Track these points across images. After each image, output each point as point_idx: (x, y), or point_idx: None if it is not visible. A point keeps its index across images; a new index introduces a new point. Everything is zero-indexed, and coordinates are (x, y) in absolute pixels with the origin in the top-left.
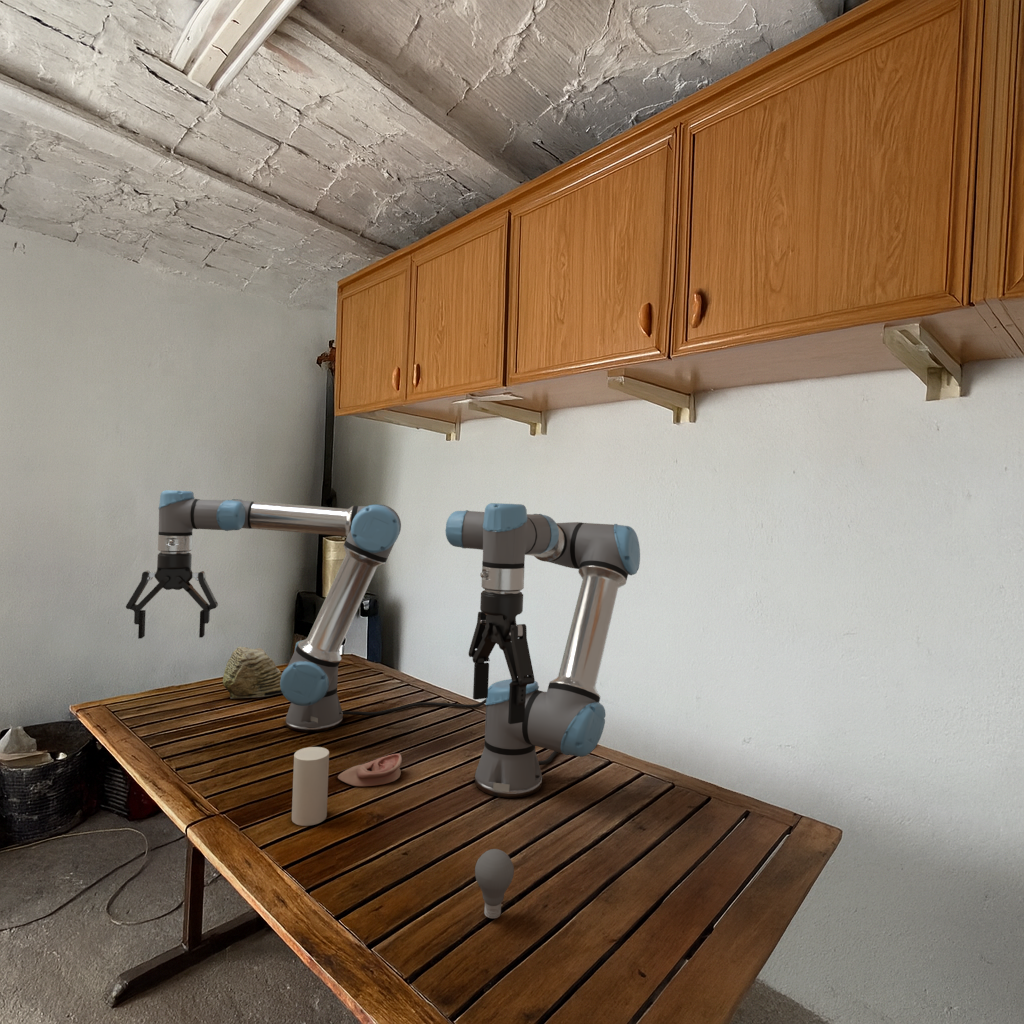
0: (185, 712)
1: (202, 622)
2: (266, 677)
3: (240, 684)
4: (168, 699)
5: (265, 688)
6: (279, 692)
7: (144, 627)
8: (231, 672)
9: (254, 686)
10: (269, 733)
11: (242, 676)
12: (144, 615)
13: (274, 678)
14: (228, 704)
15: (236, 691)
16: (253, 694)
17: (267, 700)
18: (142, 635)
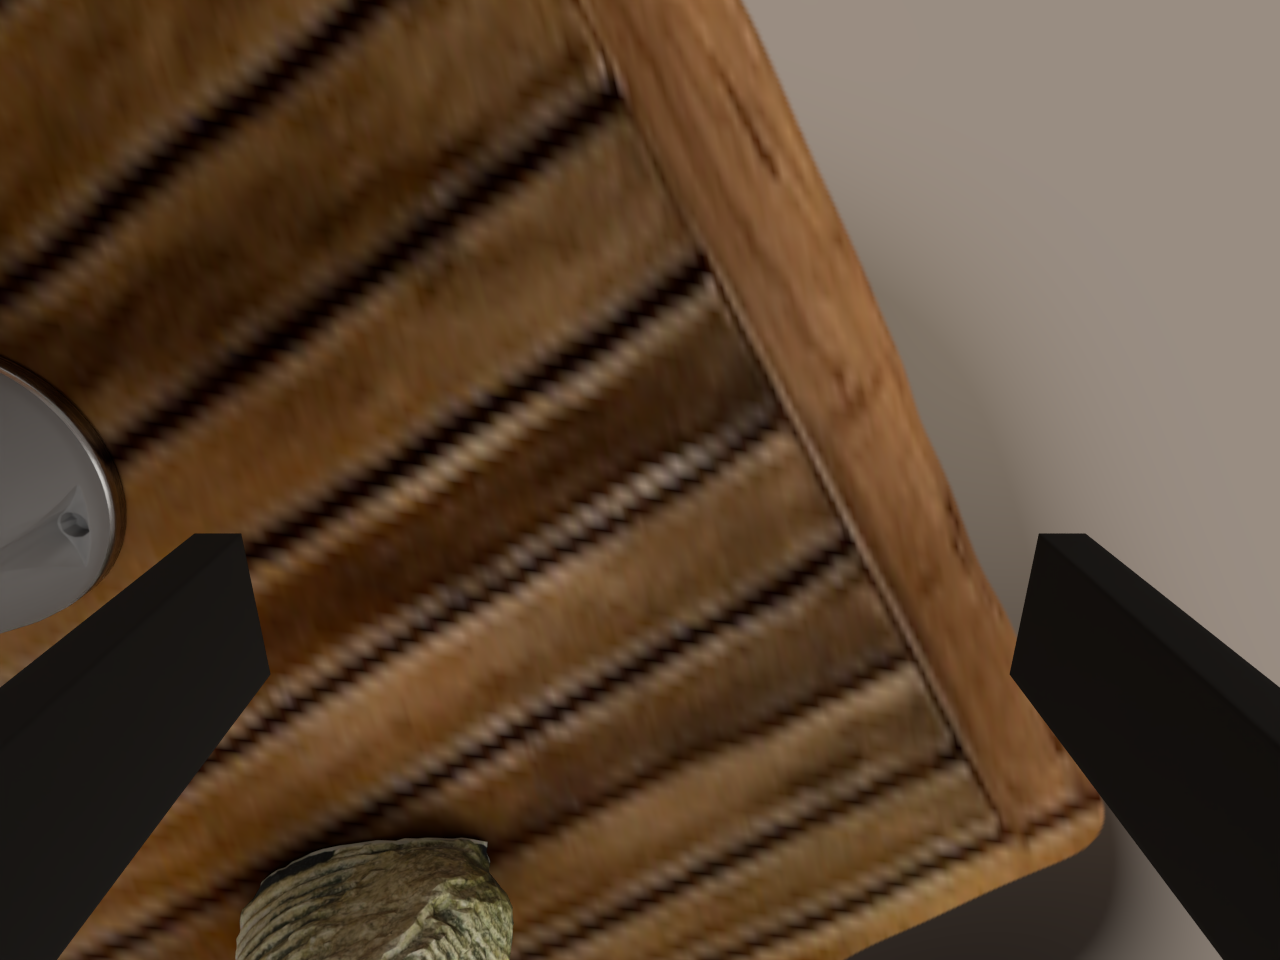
0: (648, 705)
1: (29, 676)
2: (291, 930)
3: (415, 879)
4: (756, 866)
5: (317, 880)
6: (272, 876)
7: (1084, 743)
8: (447, 940)
9: (359, 881)
10: (168, 368)
11: (394, 916)
12: (1247, 913)
13: (264, 937)
14: (478, 778)
15: (445, 855)
16: (379, 852)
17: (312, 805)
18: (1049, 590)
